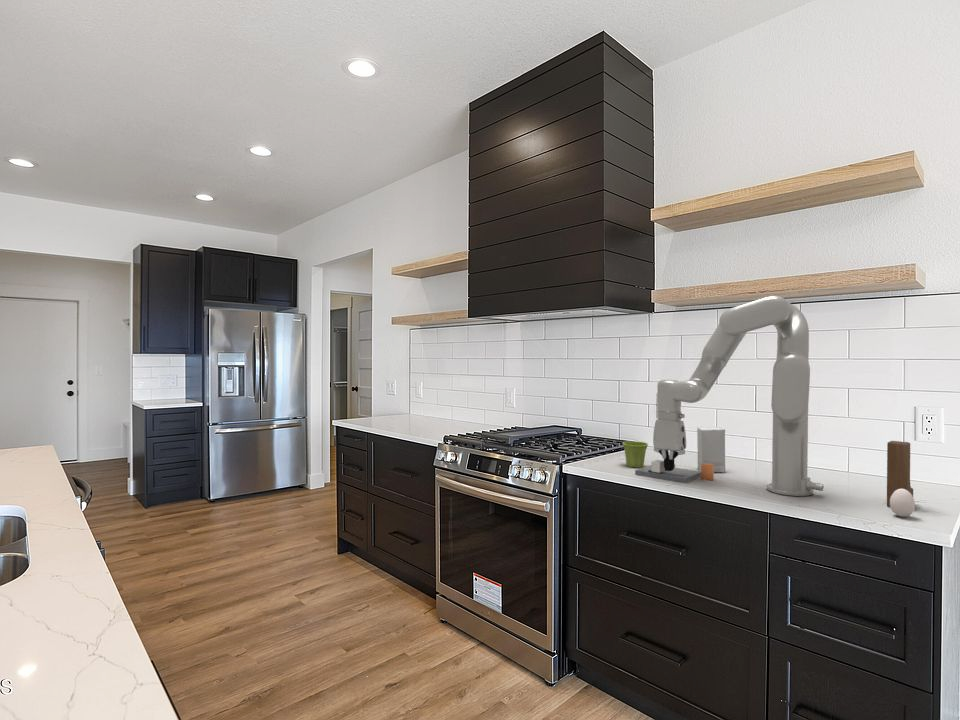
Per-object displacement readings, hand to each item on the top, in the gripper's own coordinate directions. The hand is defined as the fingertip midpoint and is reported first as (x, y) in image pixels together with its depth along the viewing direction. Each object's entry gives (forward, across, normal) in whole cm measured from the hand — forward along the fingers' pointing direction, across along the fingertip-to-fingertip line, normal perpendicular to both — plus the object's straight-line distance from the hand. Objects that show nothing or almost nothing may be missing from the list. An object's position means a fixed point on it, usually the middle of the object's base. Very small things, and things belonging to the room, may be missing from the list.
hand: (669, 470), depth 191 cm
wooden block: (+3, -62, -12) cm, 63 cm away
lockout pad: (+1, +6, -9) cm, 11 cm away
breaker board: (+3, +2, -4) cm, 6 cm away
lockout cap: (+3, -10, -8) cm, 13 cm away
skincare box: (+3, -6, -22) cm, 22 cm away
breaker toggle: (+1, +4, 0) cm, 4 cm away
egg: (+3, -64, 0) cm, 64 cm away
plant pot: (+3, +18, -10) cm, 21 cm away
